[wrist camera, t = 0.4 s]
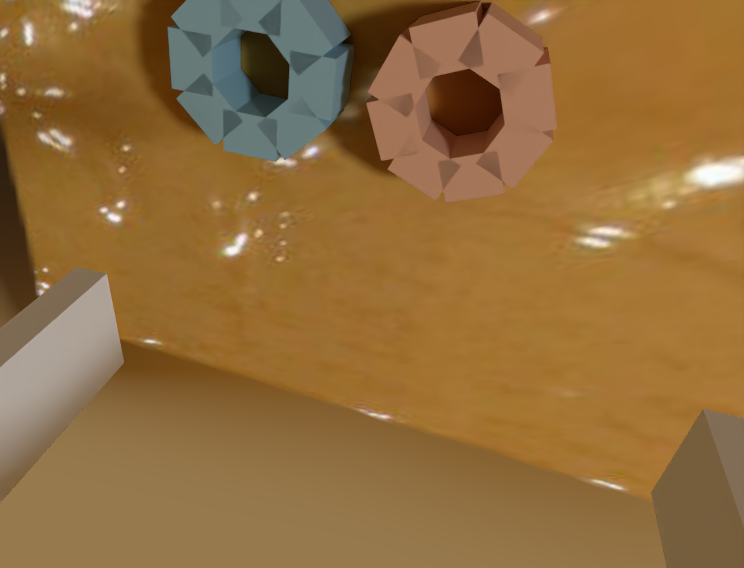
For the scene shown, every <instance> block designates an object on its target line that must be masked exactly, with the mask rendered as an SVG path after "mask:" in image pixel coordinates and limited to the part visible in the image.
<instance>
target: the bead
mask: <svg viewBox="0 0 744 568" xmlns="http://www.w3.org/2000/svg"><path fill="white" fill-rule="evenodd" d="M171 18H172V19H173V20H174V22H175V23H176V24H175V25H172V26H169V27H168V40H169V55H170V69H171V83H172V89H177V90H182V91H184V92H183V93H182V94H181V95H179V96H178V97H177V98H176V99H177V100H178V101H179V103H180V104H181V105H182V106H183V107H184V109H185V110H186V111H187V112H188V113H189V115H190V116H191V117H192V118H193V119H194V121H195V122H196V123H197V124H198V125H199V127H200V128H201V129H202V130H203V131H204V133H205V134H206V135H207V136H208V137H209V139H210V140H211V141H212V142H213V143H214V144H215V145H216V144H217V143H218V142H220V141H221V140H222V139H223V142H224V151H228V152H233V153H238V154H242V155H247V156H252V157H256V158H261V159H266V160H270V161H275V162H276V161H277V160H278V159H279V158H280V157H281V156H282V157H283V158H284V160H286V159H287V158H288V157H290V156H291V155H292V154H294V153H295V152H296V151H298V150H299V149H301V148H302V147H303V146H305V145H306V144H307V143H309V142H310V141H311V140H313V139H314V138H315V137H317V136H318V135H319V134H321V133H322V132H323V131H325V130H326V129H327V128H328V127H329V126H330V125H331V124H332V123H333V121H334V120H335V119H336V118H337V117H338V116H339V115H340V114H341V113H342V112H343V111H344V109H343V107H344V106H345V105H346V104H347V103H348V102H349V93H350V83H351V73H352V64H353V54H354V45H352V44H347V43H342V42H343V41H344V40H345V39H347V38H348V37H349V36H350V35H351V33H350V31H349V30H348V28H347V27H346V25H345V24H344V22H343V21H342V19H341V18H340V17H339V15H338V14H337V12H336V11H335V9H334V8H333V6H332V5H331V4H330V2H329V1H328V0H186V1H185V2H184V3H183V4H182V5H181V6H180V8H179V9H178V10H177V11H176V12H175V13H174V14H173V15H172V16H171ZM246 31H252V32H258V33H263V34H267V35H268V36H269V37H270V39H271V40H272V41H273V43H274V44H275V45H276V47H277V48H278V50H279V51H280V52H281V54H282V55H283V56H284V58H285V59H286V60H287V62H288V63H289V64H290V69H289V92H288V99H285V98H280V97H275V96H270V95H265V94H260V92H259V91H258V90H257V89H256V87H255V86H254V85H253V83H252V82H251V81H250V80H249V78H248V77H247V76H246V74H245V73H244V72H243V71H242V69H241V36H242V35H243V34H244V33H245V32H246Z"/></svg>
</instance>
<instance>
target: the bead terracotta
mask: <svg viewBox="0 0 744 568" xmlns="http://www.w3.org/2000/svg"><path fill="white" fill-rule="evenodd" d="M465 69H471V70H472V71H474V72H475V73H477V74H478V75H480V76H481V77H483V78H484V79H486V80H487V81H489V82H490V83H491V84H493V85H494V86H496V87H497V88H499V89H500V94H501V101H502V108H503V110H502V112H501V113H500V115H499V116H498V117H497V119H496V120H495V121H494V123H493V124H492V125H491V127H490V128H489V129H488V131H482V132H477V133H472V134H466V135H461V136H456V135H454V134H453V133H451V132H450V131H448V130H447V129H445V128H444V127H442V126H441V125H439V124H438V123H436V122H435V121H433V120H432V119H431V115H430V110H429V105H428V100H427V95H426V91H425V89H426V88H427V86H428V85H429V83H430V81H431V80H432V78H433V77H434V76H438V75H443V74H447V73H452V72H456V71H461V70H465ZM368 93H370V94H371V95H372V97H371V98H370V99H369V100H368V101H367V103H366V104H367V108H368V112H369V116H370V119H371V123H372V127H373V131H374V135H375V139H376V142H377V146H378V150H379V154H380V158H381V161H383V160H389V159H393V160H392V162H391V163H390V165H389V167H388V170H389V171H391V172H393V173H394V174H396V175H397V176H399V177H400V178H402V179H403V180H405V181H406V182H408V183H410V184H411V185H413V186H414V187H416V188H417V189H419V190H420V191H422V192H423V193H425V194H427V195H428V196H430V197H431V198H433V199H434V200H436V199H437V198H438V197H439V195H440V194H441V193H442V191H443V192H444V196H445V201H446V202H453V201H460V200H466V199H473V198H480V197H486V196H493V195H500V194H504V190H505V183H506V184H507V185H509V186H510V187H512V188H515V186H516V185H517V184H518V183H519V181H520V180H521V179H522V178H523V177H524V175H525V174H526V173H527V172H528V171H529V169H530V168H531V167H532V166H533V164H534V163H535V162H536V161H537V160H538V158H539V157H540V156H541V155H542V154H543V152H544V151H545V150H546V149H547V147H548V146H549V145H550V144H551V143H552V141H553V132H552V130H555V129H557V125H556V115H555V105H554V95H553V86H552V76H551V66H550V59H549V52H548V48H543V39H542V37H540V36H539V35H537V34H536V33H534V32H533V31H532V30H530V29H529V28H527V27H526V26H524V25H523V24H522V23H520V22H519V21H517V20H516V19H514V18H513V17H512V16H510V15H509V14H507V13H506V12H505V11H503V10H502V9H500V8H499V7H497V6H496V5H495V4H493V3H491V5H490V6H489V8H488V9H487V11H486V13H485V14H484V16H483V12H482V5H481V1H478V2H474V3H470V4H466V5H462V6H458V7H455V8H451V9H447V10H443V11H439V12H435V13H431V14H428V15H424V16H421V17H420V18H419V19H418V20H417V21H416V22H415V23H412V24H411V25H410V26H409V27H408V28H407V29H406V30H405V31H403V32H402V33H401V34H400V35H399V37H398V39H397V41H396V42H395V44H394V46H393V48H392V50H391V51H390V53H389V55H388V57H387V58H386V60H385V62H384V64H383V65H382V67H381V69H380V71H379V73H378V74H377V76H376V78H375V80H374V81H373V83H372V85H371V87H370V89H369V90H368Z"/></svg>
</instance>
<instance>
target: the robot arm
mask: <svg viewBox="0 0 744 568" xmlns="http://www.w3.org/2000/svg"><path fill="white" fill-rule="evenodd" d="M123 363H124V360H123V355H122V350H121V345H120V339H119V334H118V329H117V324H116V319H115V314H114V309H113V304H112V299H111V293H110V288H109V283H108V278H107V274H105V273H101V272H96V271H92V270H88V269H83V268H79V267H76V268H75V269H73V270H72V271H71V272H70V273H68V274H67V275H66V276H65V277H63V278H62V279H61V280H60V281H58V282H57V283H56V284H55V285H53V286H52V287H51V288H50V289H48V290H47V291H46V292H45V293H43V294H42V295H41V296H40V297H39V298H37V299H36V300H35V301H34V302H32V303H31V304H30V305H29V306H28V307H26V308H25V309H24V310H23V311H21V312H20V313H19V314H17V315H16V316H15V317H14V318H12V319H11V320H10V321H9V322H7V323H6V324H5V325H4V326H2V327H1V328H0V502H1V501H2V500H3V499H4V498H5V497H6V496H7V495H8V494H9V492H10V491H11V490H12V489H13V488H14V487H15V486H16V485H17V483H18V482H19V481H20V480H21V479H22V478H23V477H24V475H25V474H26V473H27V472H28V471H29V470H30V469H31V467H32V466H33V465H34V464H35V463H36V462H37V461H38V460H39V458H40V457H41V456H42V455H43V454H44V453H45V452H46V450H47V449H48V448H49V447H50V446H51V445H52V443H54V441H55V440H56V439H57V438H58V437H59V436H60V435H61V433H62V432H63V431H64V430H65V429H66V428H67V427H68V425H69V424H70V423H71V422H72V421H73V420H74V419H75V418H76V416H77V415H78V414H79V413H80V412H81V411H82V410H83V408H84V407H85V406H86V405H87V404H88V403H89V402H90V400H91V399H92V398H93V397H94V396H95V395H96V394H97V393H98V391H99V390H100V389H101V388H102V387H103V386H104V385H105V383H106V382H107V381H108V380H109V379H110V378H111V377H112V376H113V374H114V373H115V372H116V371H117V370H118V369H119V368H120V367H121V365H122V364H123ZM651 494H652V499H653V503H654V508H655V513H656V518H657V523H658V527H659V532H660V537H661V542H662V547H663V552H664V556H665V561H666V566H667V568H744V418H742V417H737V416H733V415H729V414H724V413H720V412H715V411H711V410H707V409H703V410H702V411H701V413H700V415H699V416H698V418H697V419H696V421H695V423H694V424H693V426H692V428H691V429H690V431H689V432H688V434H687V436H686V437H685V439H684V440H683V442H682V444H681V445H680V447H679V449H678V450H677V452H676V453H675V455H674V457H673V458H672V460H671V461H670V463H669V465H668V466H667V468H666V470H665V471H664V473H663V474H662V476H661V478H660V479H659V481H658V482H657V484H656V486H655V487H654V489H653V491H652V492H651Z"/></svg>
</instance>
